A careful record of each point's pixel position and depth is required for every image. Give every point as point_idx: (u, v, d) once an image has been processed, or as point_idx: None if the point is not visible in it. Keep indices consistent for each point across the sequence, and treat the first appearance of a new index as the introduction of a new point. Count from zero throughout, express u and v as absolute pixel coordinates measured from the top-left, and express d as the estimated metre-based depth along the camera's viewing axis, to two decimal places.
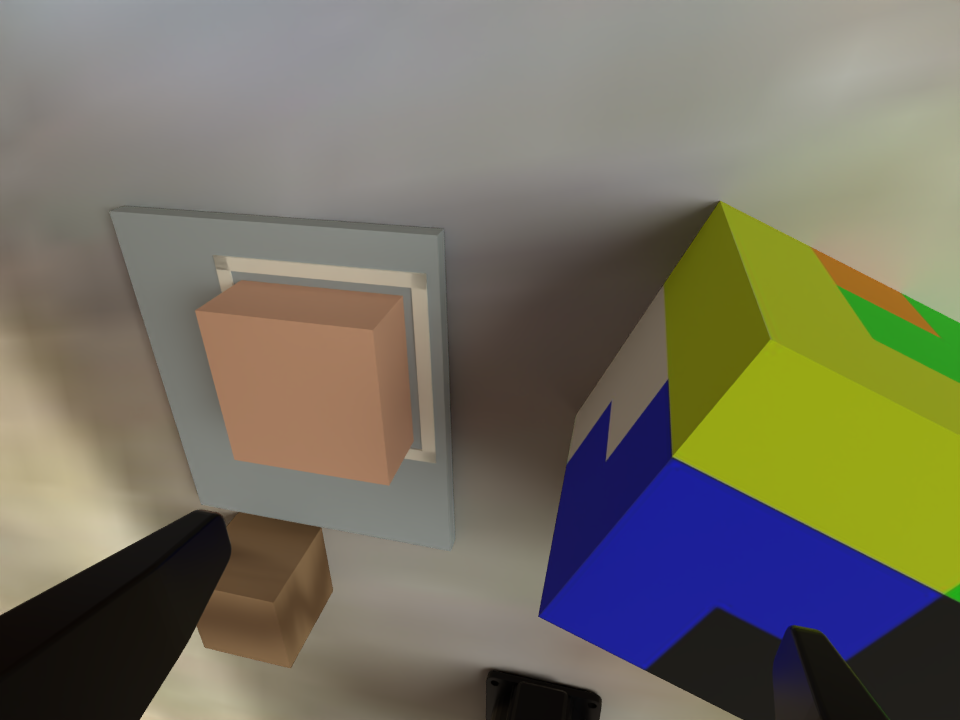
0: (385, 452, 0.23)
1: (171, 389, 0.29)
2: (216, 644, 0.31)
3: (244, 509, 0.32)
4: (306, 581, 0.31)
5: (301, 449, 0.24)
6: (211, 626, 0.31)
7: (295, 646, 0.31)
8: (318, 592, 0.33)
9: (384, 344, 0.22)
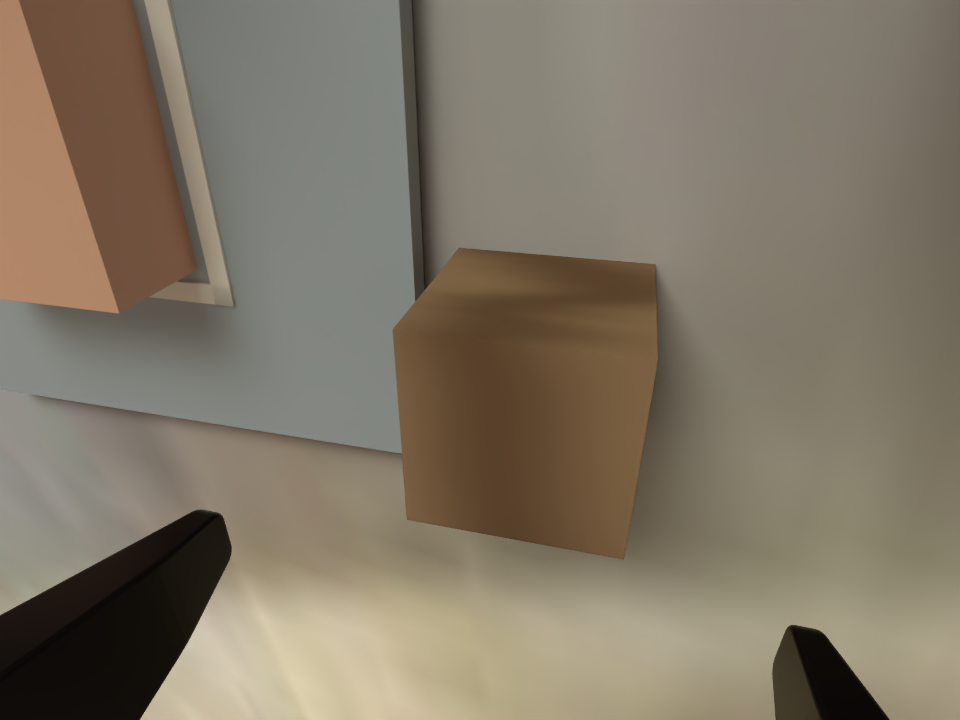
0: None
1: (208, 414, 0.20)
2: (602, 527, 0.13)
3: None
4: (503, 285, 0.14)
5: (29, 170, 0.13)
6: (534, 511, 0.13)
7: (618, 337, 0.12)
8: (589, 279, 0.14)
9: None
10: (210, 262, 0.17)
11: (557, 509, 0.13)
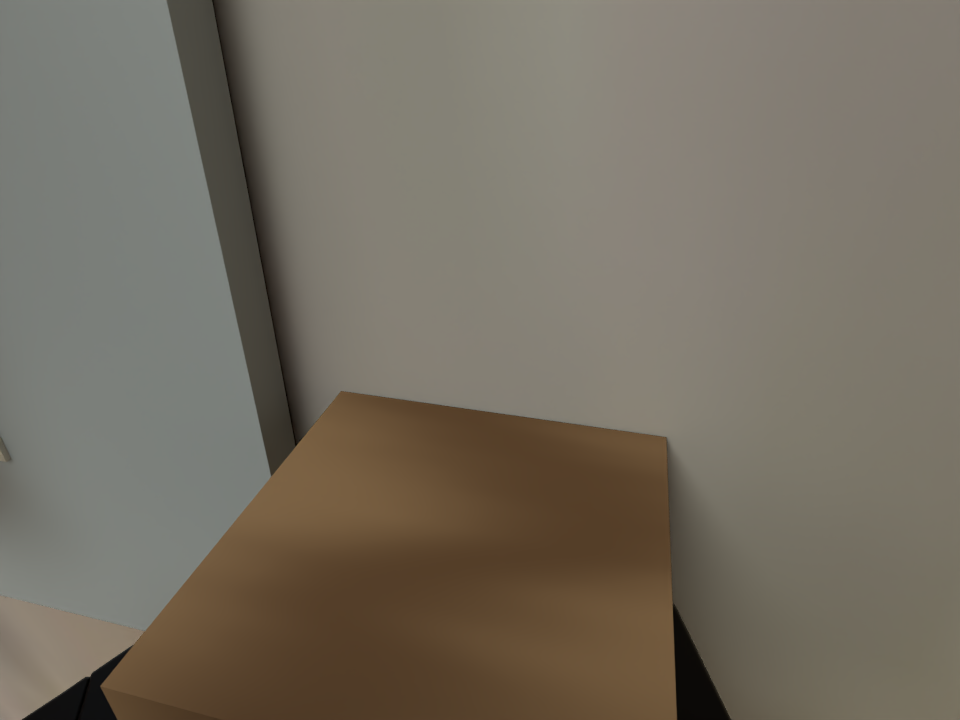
0: None
1: (12, 588, 0.14)
2: None
3: None
4: (384, 510, 0.07)
5: None
6: None
7: None
8: (546, 488, 0.08)
9: None
10: None
11: None
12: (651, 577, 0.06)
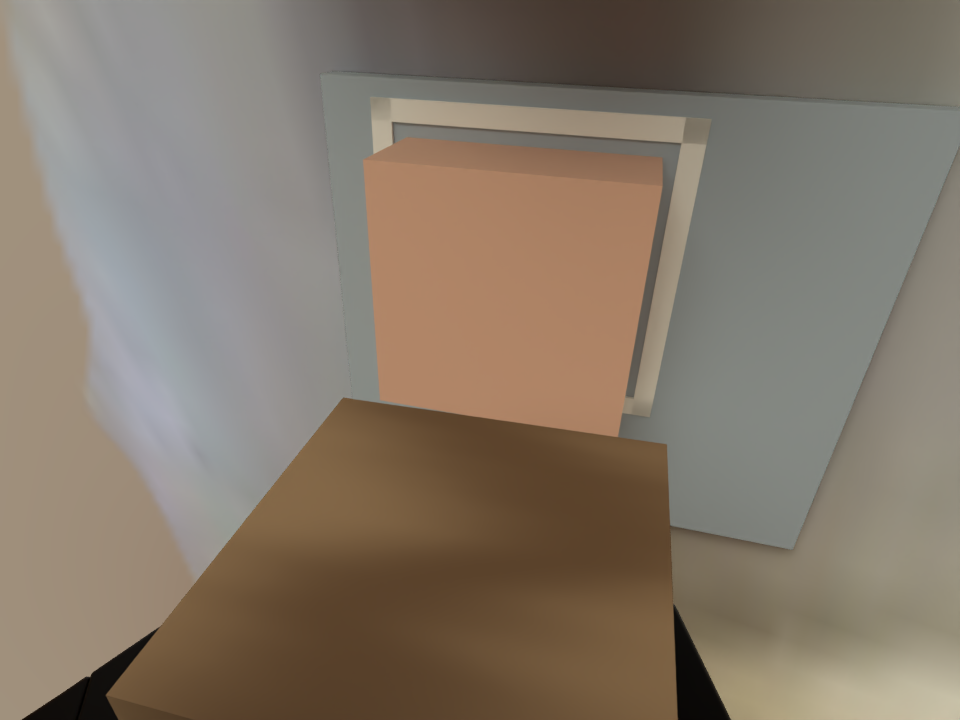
0: (586, 179, 0.13)
1: None
2: None
3: (808, 490, 0.19)
4: (387, 517, 0.07)
5: (588, 328, 0.15)
6: None
7: None
8: (548, 496, 0.08)
9: (414, 156, 0.15)
10: (641, 380, 0.19)
11: None
12: (652, 585, 0.07)
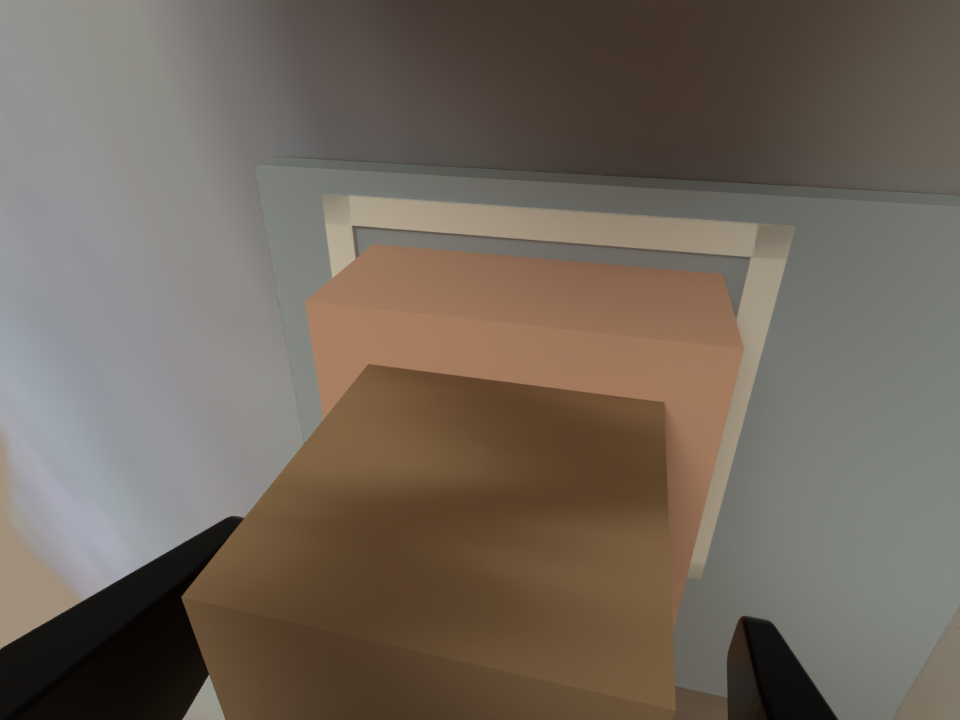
0: (628, 335, 0.09)
1: None
2: None
3: (909, 670, 0.15)
4: (414, 461, 0.08)
5: None
6: None
7: (600, 622, 0.06)
8: (557, 444, 0.09)
9: (379, 287, 0.11)
10: None
11: None
12: (650, 514, 0.07)
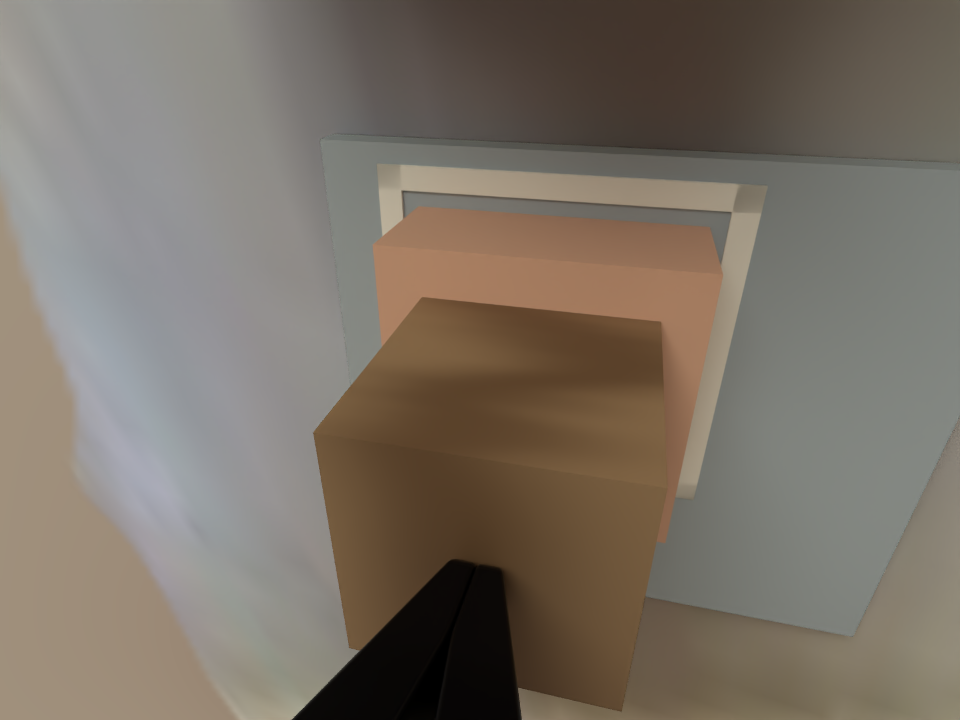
0: (632, 266, 0.12)
1: None
2: (594, 675, 0.10)
3: (872, 576, 0.17)
4: (468, 357, 0.11)
5: None
6: None
7: (614, 445, 0.09)
8: (578, 347, 0.11)
9: (430, 236, 0.13)
10: (684, 462, 0.17)
11: (535, 651, 0.10)
12: (650, 388, 0.10)
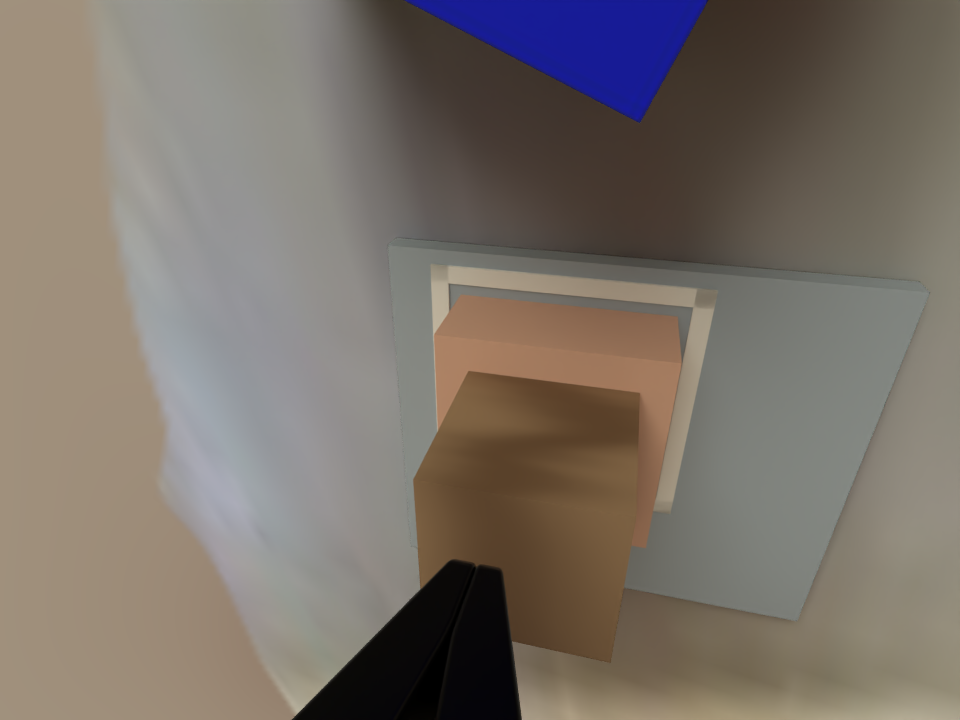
0: (619, 355, 0.17)
1: None
2: (592, 637, 0.15)
3: (809, 573, 0.22)
4: (506, 423, 0.16)
5: None
6: (533, 621, 0.15)
7: (604, 488, 0.14)
8: (581, 414, 0.16)
9: (474, 325, 0.18)
10: (662, 485, 0.22)
11: (553, 621, 0.15)
12: (629, 447, 0.15)
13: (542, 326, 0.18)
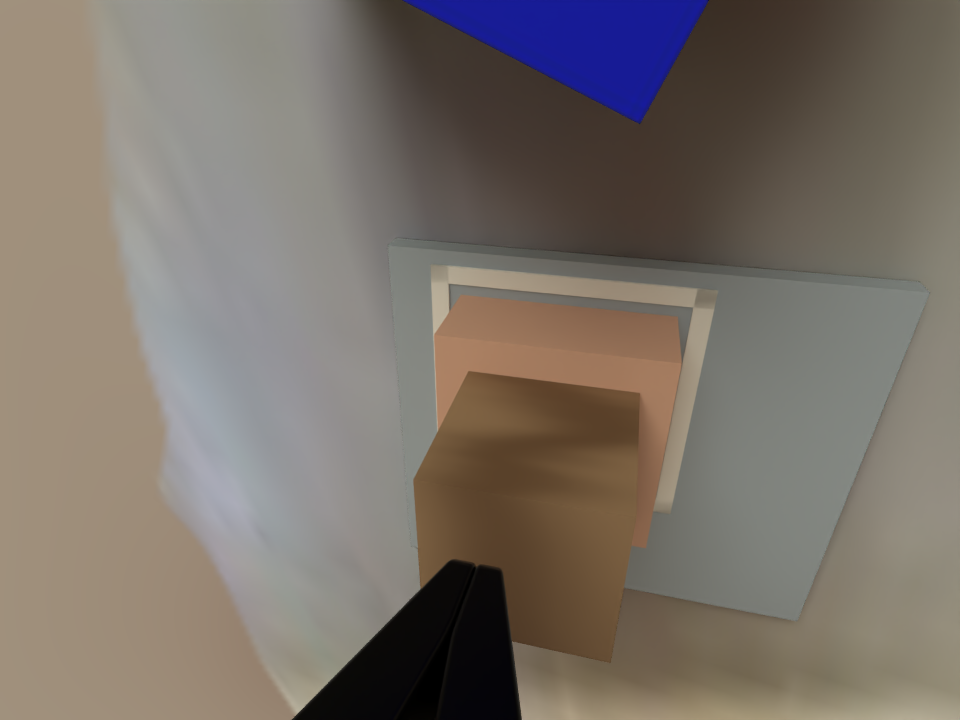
0: (619, 356, 0.17)
1: None
2: (592, 637, 0.15)
3: (809, 573, 0.22)
4: (506, 423, 0.16)
5: None
6: (533, 621, 0.15)
7: (604, 489, 0.14)
8: (581, 414, 0.16)
9: (474, 326, 0.18)
10: (662, 485, 0.22)
11: (553, 621, 0.15)
12: (629, 447, 0.15)
13: (542, 326, 0.18)
